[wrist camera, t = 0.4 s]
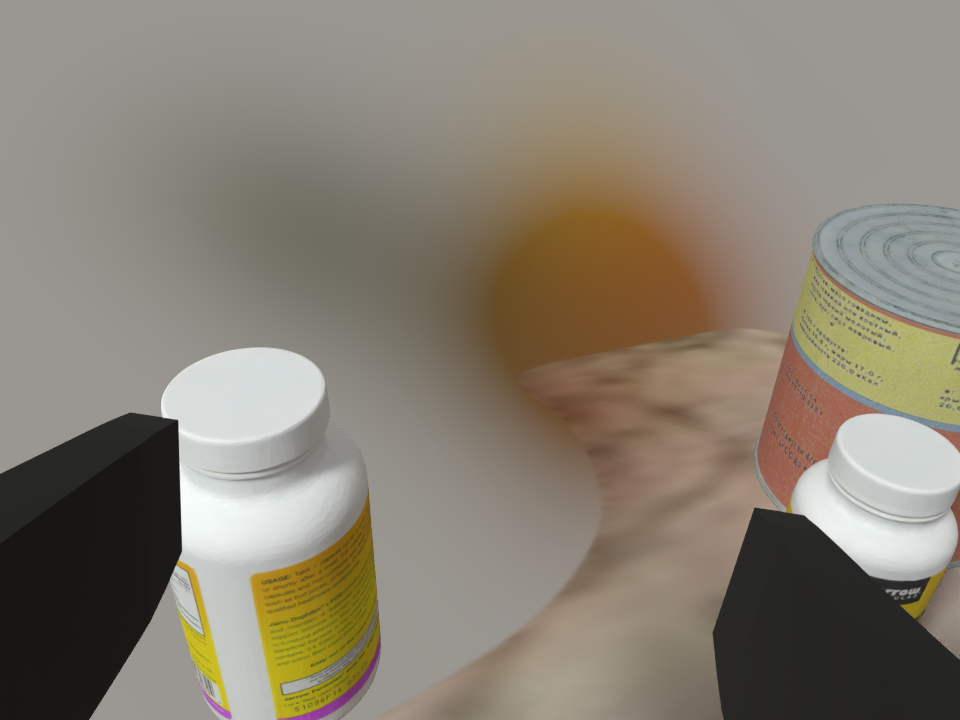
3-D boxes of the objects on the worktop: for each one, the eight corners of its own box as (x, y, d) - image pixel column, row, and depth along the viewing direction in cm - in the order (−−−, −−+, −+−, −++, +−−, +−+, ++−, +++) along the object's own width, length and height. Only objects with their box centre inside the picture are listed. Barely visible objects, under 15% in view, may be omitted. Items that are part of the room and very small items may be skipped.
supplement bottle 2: (812, 719, 30) (895, 525, 25) (724, 604, 34) (778, 417, 29) (927, 673, 32) (1029, 482, 26) (830, 569, 36) (900, 385, 30)
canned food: (1047, 581, 36) (1189, 348, 29) (778, 558, 37) (855, 324, 30) (950, 417, 45) (1040, 211, 38) (737, 401, 46) (788, 196, 39)
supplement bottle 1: (404, 614, 34) (393, 346, 26) (343, 769, 28) (308, 488, 21) (250, 580, 35) (199, 315, 28) (164, 722, 30) (72, 442, 22)
